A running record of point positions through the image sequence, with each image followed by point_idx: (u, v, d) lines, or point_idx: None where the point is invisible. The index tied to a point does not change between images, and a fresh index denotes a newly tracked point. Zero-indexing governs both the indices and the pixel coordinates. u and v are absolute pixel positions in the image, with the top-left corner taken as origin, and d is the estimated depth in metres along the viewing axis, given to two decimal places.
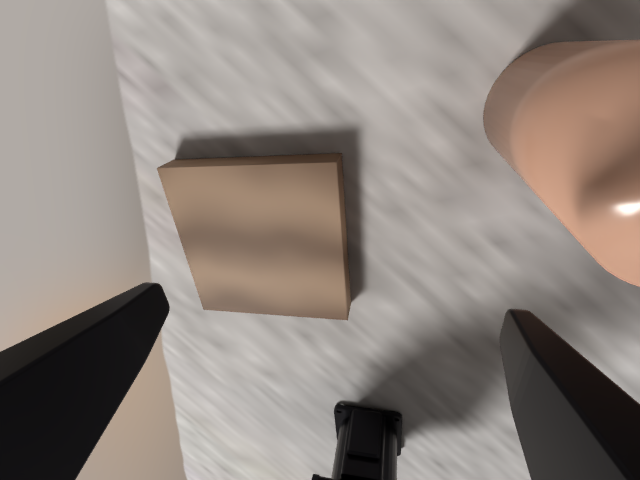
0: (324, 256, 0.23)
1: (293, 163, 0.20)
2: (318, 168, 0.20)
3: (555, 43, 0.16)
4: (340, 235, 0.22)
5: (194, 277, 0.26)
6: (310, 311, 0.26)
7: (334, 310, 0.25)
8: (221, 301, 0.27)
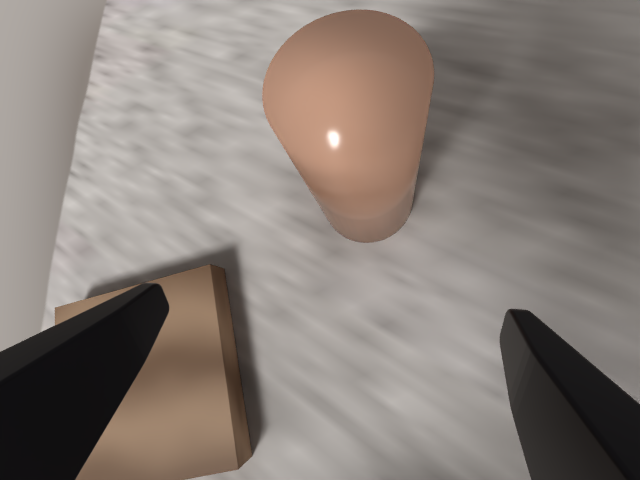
0: (204, 370, 0.21)
1: (175, 274, 0.23)
2: (195, 273, 0.22)
3: None
4: (219, 338, 0.21)
5: None
6: (191, 466, 0.19)
7: (220, 455, 0.19)
8: (82, 479, 0.21)
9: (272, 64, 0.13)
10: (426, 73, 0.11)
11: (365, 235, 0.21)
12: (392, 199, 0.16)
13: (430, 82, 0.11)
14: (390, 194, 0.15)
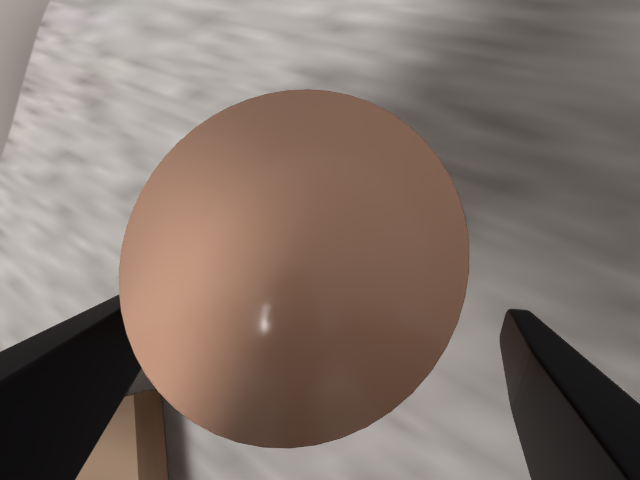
0: None
1: None
2: None
3: None
4: None
5: None
6: None
7: None
8: None
9: (145, 194, 0.06)
10: (452, 248, 0.05)
11: None
12: None
13: (461, 273, 0.05)
14: None
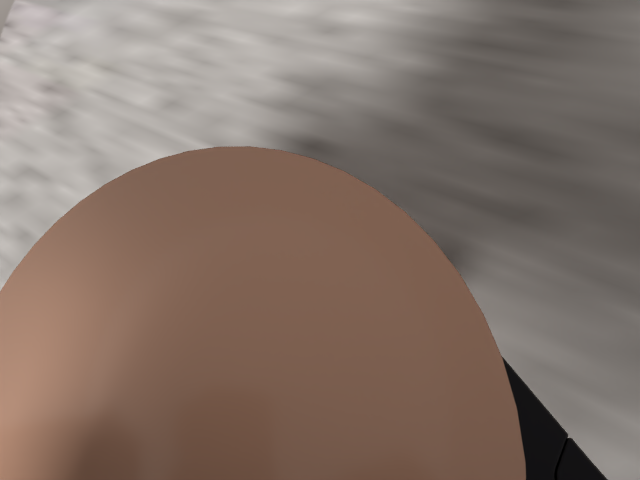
0: None
1: None
2: None
3: None
4: None
5: None
6: None
7: None
8: None
9: None
10: (493, 468, 0.03)
11: None
12: None
13: None
14: None
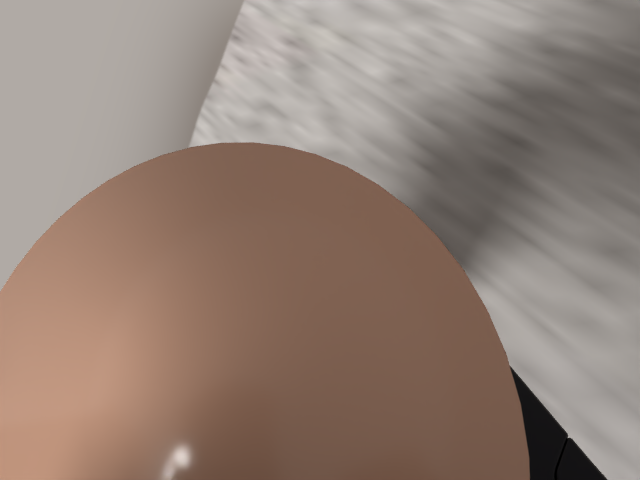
0: None
1: None
2: None
3: None
4: None
5: None
6: None
7: None
8: None
9: (1, 305, 0.04)
10: (496, 462, 0.03)
11: None
12: None
13: None
14: None
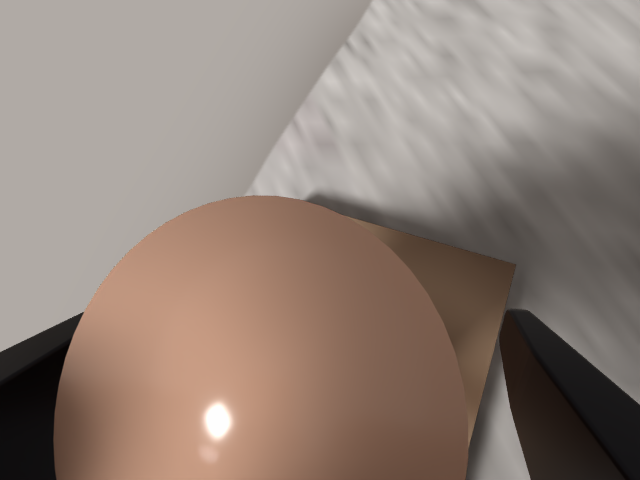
0: None
1: (456, 248, 0.16)
2: (488, 264, 0.16)
3: None
4: (487, 368, 0.15)
5: None
6: None
7: None
8: None
9: (88, 317, 0.05)
10: (446, 426, 0.04)
11: None
12: None
13: (458, 463, 0.04)
14: None
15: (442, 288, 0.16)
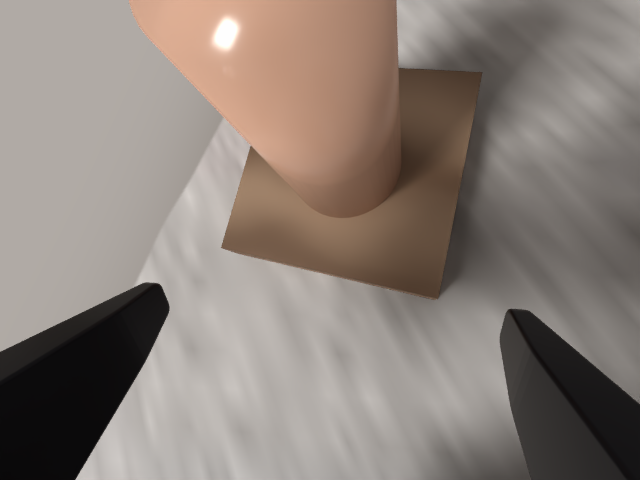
0: (432, 184, 0.17)
1: (430, 71, 0.19)
2: (458, 77, 0.18)
3: None
4: (464, 157, 0.17)
5: (238, 194, 0.20)
6: (382, 273, 0.17)
7: (421, 276, 0.16)
8: (255, 237, 0.19)
9: None
10: None
11: (343, 206, 0.16)
12: (365, 144, 0.11)
13: None
14: (358, 134, 0.10)
15: (420, 104, 0.18)
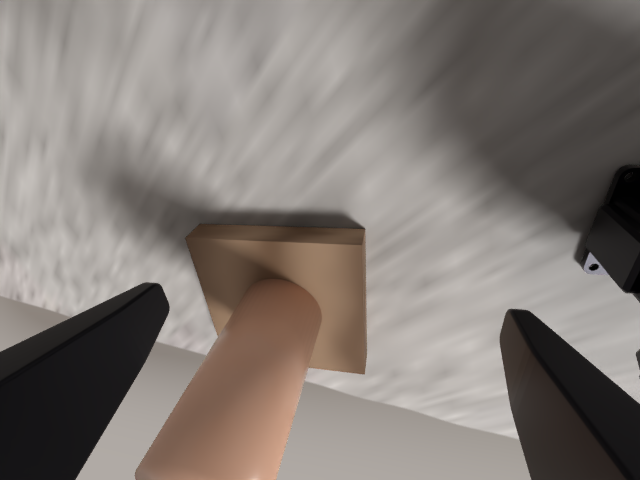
0: (277, 258, 0.22)
1: (196, 268, 0.24)
2: (194, 251, 0.24)
3: None
4: (251, 241, 0.22)
5: (324, 368, 0.27)
6: (353, 281, 0.22)
7: (348, 257, 0.21)
8: (350, 356, 0.26)
9: None
10: (163, 465, 0.14)
11: (312, 324, 0.22)
12: (269, 370, 0.18)
13: (168, 465, 0.13)
14: (266, 385, 0.17)
15: (222, 272, 0.24)
